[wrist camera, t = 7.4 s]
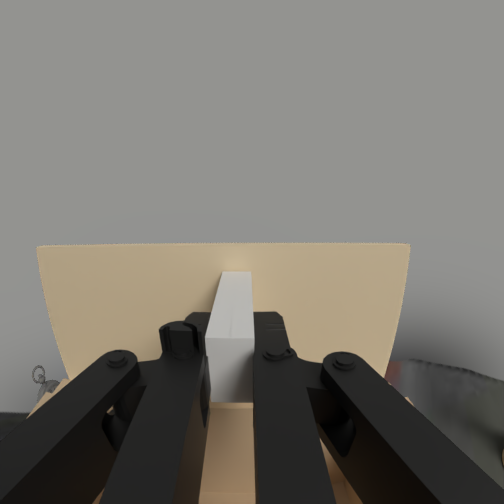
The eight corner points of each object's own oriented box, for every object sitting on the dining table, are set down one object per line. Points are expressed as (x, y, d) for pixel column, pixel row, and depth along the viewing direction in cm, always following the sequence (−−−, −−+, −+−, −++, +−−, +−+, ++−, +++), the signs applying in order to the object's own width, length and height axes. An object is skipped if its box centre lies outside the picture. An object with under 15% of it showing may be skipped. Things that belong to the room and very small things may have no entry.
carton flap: (410, 245, 15) (405, 243, 15) (36, 247, 14) (41, 245, 14) (382, 383, 17) (378, 378, 17) (69, 379, 16) (72, 375, 16)
